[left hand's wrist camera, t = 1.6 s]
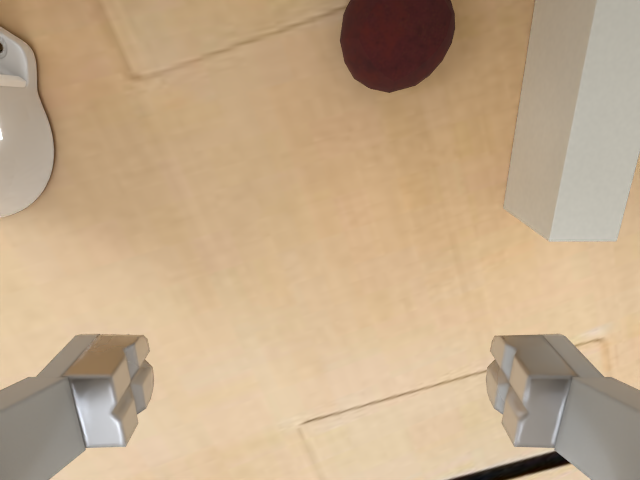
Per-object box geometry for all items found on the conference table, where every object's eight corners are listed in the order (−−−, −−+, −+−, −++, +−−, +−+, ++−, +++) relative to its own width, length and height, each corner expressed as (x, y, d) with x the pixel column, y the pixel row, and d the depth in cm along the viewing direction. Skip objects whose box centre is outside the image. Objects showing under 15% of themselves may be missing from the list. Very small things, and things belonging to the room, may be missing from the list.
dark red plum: (457, 33, 33) (492, 23, 26) (382, 111, 35) (397, 119, 28) (390, -46, 31) (410, -79, 24) (316, 41, 33) (315, 32, 26)
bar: (557, 208, 38) (616, 241, 30) (502, 208, 38) (548, 241, 30) (636, -189, 28) (753, -287, 21) (563, -189, 28) (653, -287, 21)
